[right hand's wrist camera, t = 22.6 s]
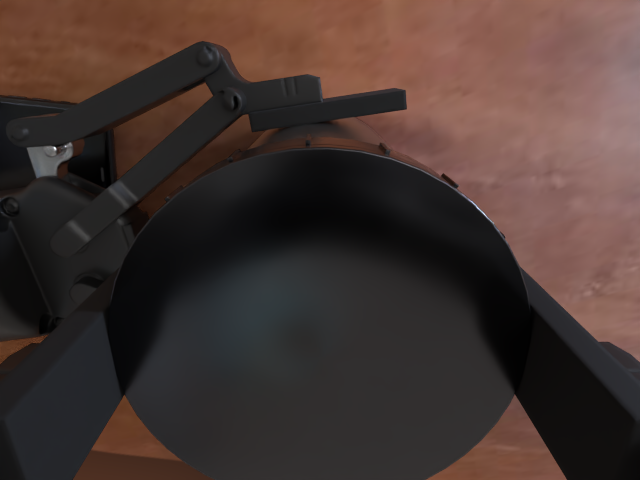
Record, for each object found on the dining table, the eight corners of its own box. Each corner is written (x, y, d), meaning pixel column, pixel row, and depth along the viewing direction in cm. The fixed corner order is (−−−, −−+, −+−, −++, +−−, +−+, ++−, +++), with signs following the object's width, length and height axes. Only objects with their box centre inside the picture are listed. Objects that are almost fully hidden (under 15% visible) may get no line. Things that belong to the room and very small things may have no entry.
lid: (374, 35, 9) (384, 28, 8) (571, 358, 13) (603, 395, 11) (51, 286, 12) (12, 316, 10) (286, 504, 15) (283, 551, 14)
